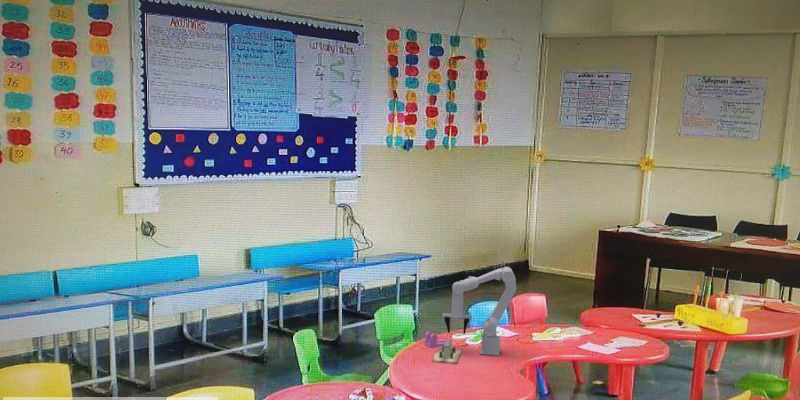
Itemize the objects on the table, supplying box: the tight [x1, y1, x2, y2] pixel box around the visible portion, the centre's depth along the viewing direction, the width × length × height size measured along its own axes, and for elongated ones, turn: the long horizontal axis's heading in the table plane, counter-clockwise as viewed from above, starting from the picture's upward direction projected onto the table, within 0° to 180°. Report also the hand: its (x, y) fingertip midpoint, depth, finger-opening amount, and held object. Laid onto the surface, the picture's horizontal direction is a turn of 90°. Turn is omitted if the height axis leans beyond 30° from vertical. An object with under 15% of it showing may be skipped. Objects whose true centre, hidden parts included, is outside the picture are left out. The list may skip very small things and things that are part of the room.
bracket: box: [424, 331, 447, 349], centre depth 378 cm, size 13×6×7 cm, turn 123°
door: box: [444, 339, 453, 358], centre depth 358 cm, size 2×10×6 cm, turn 168°
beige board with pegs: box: [431, 346, 463, 365], centre depth 358 cm, size 12×20×4 cm, turn 168°
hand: (456, 332), depth 367 cm, fingers open, 7 cm apart
